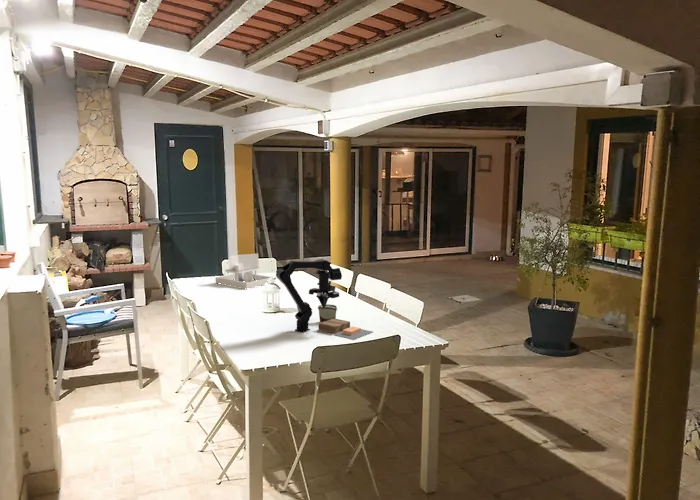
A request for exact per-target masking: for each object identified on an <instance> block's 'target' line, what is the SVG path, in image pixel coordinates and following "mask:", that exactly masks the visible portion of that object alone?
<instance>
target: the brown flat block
mask: <svg viewBox="0 0 700 500" xmlns="http://www.w3.org/2000/svg"><path fill="white" fill-rule="evenodd" d="M349 327H351V321H348V320H344V319H339V318H336V319H335V318H333V319H330V320H328V321H325V322H319V323H318V331H320V332H325V333H329V334H334V335H335V334H337V333H340V332H343V330H344V329H347V328H349Z"/></svg>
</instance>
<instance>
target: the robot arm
mask: <svg viewBox="0 0 700 500" xmlns="http://www.w3.org/2000/svg"><path fill="white" fill-rule="evenodd" d="M296 269H317V270H316V271H315V272H314V273H315V274H316V275H318V282H317V286H318V288H317V287H313V288H310V289H309V290H308V295H314V294H316V297H317V299H318V300H319V303H320V305H322V307H323V308H325V306H326V304H328V300H329V299H336V298H339V297H340V292H338V291H336V286H334V285H331V282H330V281H339V280H342V277H343V274H342V271H341V268H339V267H336V268H332V266H331V263H330V261H329V260H326V259H324V258H321V259H319V258H318V259H315V260H290V261H288V263H287V264H285V265H283V266H282V267H281V269H280V268H279V269H277V270H276V273H275V276H276V278H277V279H278V280H279V282H280V283H281V284H283V285H284V287H285V288H286V290H287V291H288V293H289V294H290V296H291V298H292V300H293V302H294V303H295V305H296V308H297V313H296V314H295V315H294V317H295V319H296V328H295V329H294V331H296V332H299V333H305V332H308V331H310V330H311V329H310V328H309V321H310V319H311V317H312V315H313V308H311V306H310V303H308V302H306V301H304V300H303V298H302V297H301V295H300V293H299V292H298V290H297V289H296V287H295V286H294V283H293V282H292V278H291V276H292V274H293V273H294V271H295V270H296Z"/></svg>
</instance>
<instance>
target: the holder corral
mask: <svg viewBox="0 0 700 500" xmlns="http://www.w3.org/2000/svg"><path fill="white" fill-rule="evenodd" d="M271 277H272V276H269V275H261V274H257V273H256V280H257V281H255V280H253V281H252V282H247V283H245V282H240V281H235V280H232V279H235V273H231V274H227V275H221V276H217V277H215V284H216V283H221V284H226V285H231V286H236V287H241V288H246V289H245V290H248V289H247V288H251V289H253V288H252V287H255V286H260V285H264V284H265V283H266V282H267V280H268V279H269V278H271ZM253 279H255V273H253ZM221 284H220V285H221ZM226 285H225V286H226ZM231 286H230V287H231ZM264 286H265V285H264ZM236 287H235V288H236ZM260 287H261V286H260ZM241 288H240V289H241ZM255 288H256V287H255Z"/></svg>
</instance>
